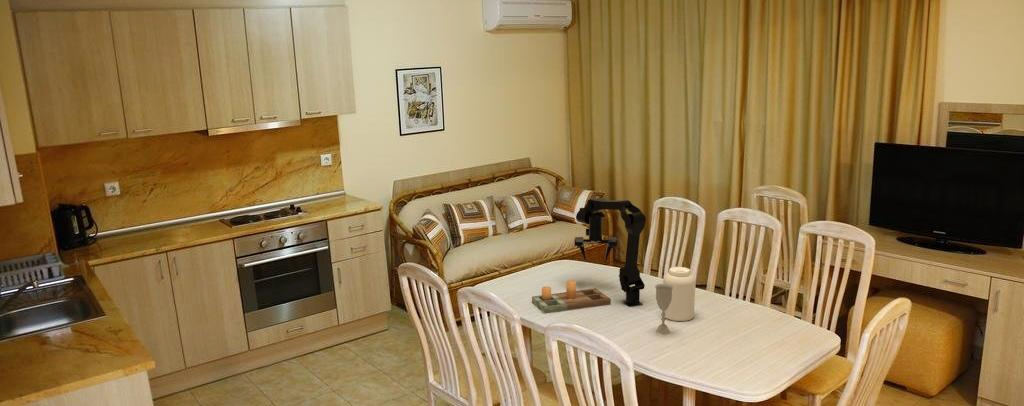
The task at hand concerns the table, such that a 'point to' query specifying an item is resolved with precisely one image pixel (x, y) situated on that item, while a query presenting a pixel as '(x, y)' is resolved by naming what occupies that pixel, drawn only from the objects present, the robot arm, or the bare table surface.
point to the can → (680, 294)
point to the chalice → (663, 303)
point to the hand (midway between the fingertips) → (595, 260)
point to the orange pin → (571, 289)
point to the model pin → (546, 293)
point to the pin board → (572, 301)
